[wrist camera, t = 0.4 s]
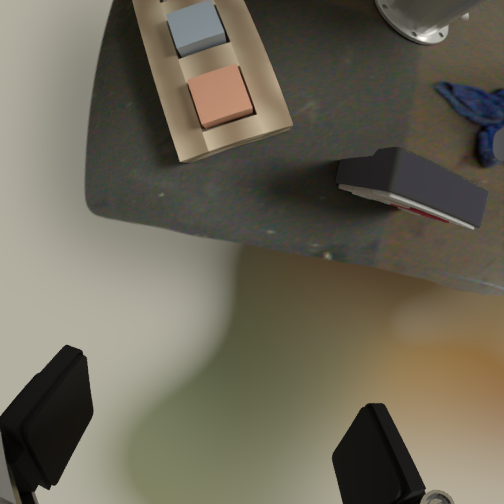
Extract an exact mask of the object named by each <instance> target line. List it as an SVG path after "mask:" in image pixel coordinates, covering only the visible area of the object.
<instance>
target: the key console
mask: <svg viewBox="0 0 504 504" xmlns="http://www.w3.org/2000/svg"><path fill="white" fill-rule="evenodd" d="M204 1H207V0H167V1H163V0H132V2H133V6H134V9H135V13H136V17H137V21H138V25H139V28H140V32H141V35H142V39H143V43H144V46H145V50H146V53H147V57H148V60H149V64H150V67H151V71H152V74H153V77H154V81H155V84H156V87H157V91H158V94H159V97H160V101H161V104H162V107H163V110H164V114H165V117H166V120H167V123H168V126H169V129H170V132H171V136H172V139H173V142H174V145H175V148H176V151H177V154H178V157H179V160H180V162H184V163H192V162H194V161H197V160H200V159H203V158H205V157H208V156H211V155H214V154H217V153H220V152H223V151H226V150H229V149H232V148H235V147H238V146H241V145H244V144H247V143H250V142H254V141H257V140H260V139H263V138H267V137H270V136H274V135H277V134H281V133H284V132H287V131H288V130H289V129H290V128H291V127H292V126H293V123H292V120H291V117H290V114H289V111H288V109H287V106H286V103H285V100H284V97H283V95H282V92H281V89H280V87H279V84H278V81H277V79H276V76H275V73H274V71H273V68H272V66H271V63H270V61H269V58H268V56H267V53H266V51H265V48H264V46H263V43H262V41H261V39H260V36H259V34H258V31H257V29H256V27H255V24H254V22H253V20H252V18H251V15H250V13H249V11H248V9H247V6H246V4H245V2H244V0H212V3H213V5H214V8H215V10H216V13H217V15H218V17H219V20H220V22H221V25H222V27H223V30H224V33H225V38H226V43H225V44H222V45H219V46H215V47H212V48H209V49H206V50H203V51H200V52H197V53H194V54H192V55H189V56H186V57H183V58H182V56H181V55H180V53H179V51H178V50H177V48H176V45H175V42H174V39H173V36H172V32H171V29H170V26H169V23H168V20H167V17H166V14H169V13H171V12H174V11H177V10H180V9H182V8H185V7H188V6H191V5H194V4H197V3H200V2H204ZM233 64H237V66H238V69H239V72H240V75H241V77H242V80H243V83H244V85H245V88H246V91H247V94H248V97H249V99H250V102H251V105H252V114H250V115H247V116H244V117H241V118H237V119H234V120H231V121H228V122H225V123H222V124H219V125H216V126H213V127H210V128H208V129H206V128H205V127H204V126H203V125H202V124H201V121H200V118H199V115H198V112H197V109H196V106H195V103H194V100H193V97H192V94H191V90H190V87H189V84H188V81H187V80H188V79H191V78H194V77H197V76H199V75H202V74H205V73H208V72H211V71H214V70H217V69H220V68H223V67H227V66H230V65H233Z"/></svg>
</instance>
